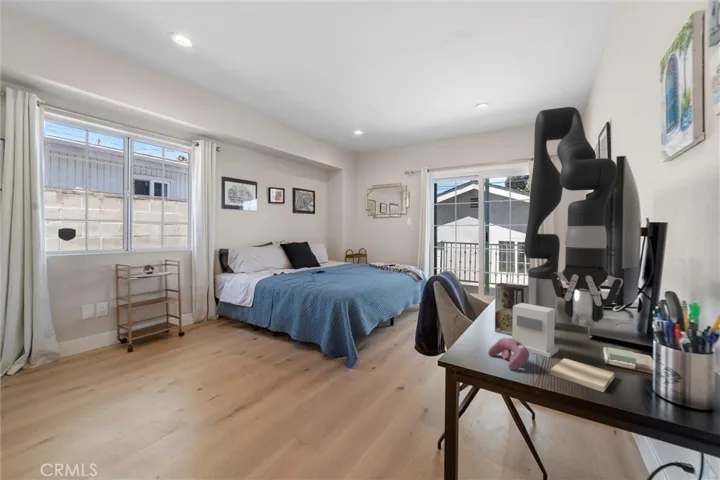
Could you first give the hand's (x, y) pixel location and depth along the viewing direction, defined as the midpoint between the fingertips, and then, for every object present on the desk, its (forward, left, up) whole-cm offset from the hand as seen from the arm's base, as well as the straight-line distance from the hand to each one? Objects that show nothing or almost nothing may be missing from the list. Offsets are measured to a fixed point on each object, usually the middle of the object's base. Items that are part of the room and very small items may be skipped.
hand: (583, 318), depth 69 cm
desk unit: (-9, -14, -14) cm, 22 cm away
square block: (-16, +4, -14) cm, 22 cm away
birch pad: (0, 0, -14) cm, 14 cm away
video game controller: (+6, -14, -14) cm, 21 cm away
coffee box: (-18, -24, -14) cm, 33 cm away
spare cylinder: (0, 0, -1) cm, 1 cm away
